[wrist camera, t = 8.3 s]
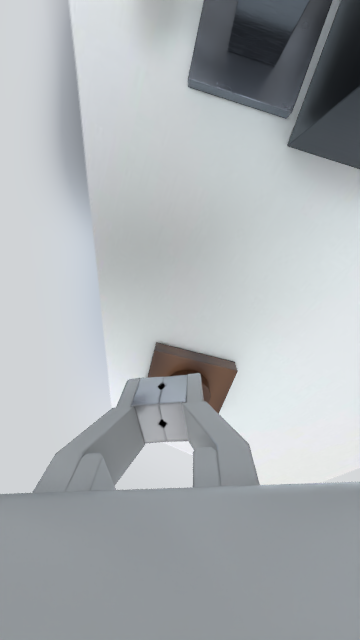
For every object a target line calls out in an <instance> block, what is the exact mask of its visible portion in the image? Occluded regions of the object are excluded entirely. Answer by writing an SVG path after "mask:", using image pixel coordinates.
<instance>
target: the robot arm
mask: <svg viewBox="0 0 360 640" xmlns="http://www.w3.org/2000/svg"><path fill="white" fill-rule="evenodd" d="M169 441H189V443H190V444H191V446H192V448H193V449H194V452H193V488H167V489H165V488H164V489H135V490H116V489H115V484H116V483H117V482H118V480H119V479H120V478H121V476H122V475H123V474H124V472H125V471H126V469H127V468H128V467H129V465H130V464H131V462H133V460H134V459H135V458H136V456H137V455H138V453H139V452H140V451H141V449H142V448H143V447H144V445H145V443H154V442H155V443H156V442H169ZM0 640H360V482H340V483H339V482H338V483H308V484H279V485H260V484H259V481H258V477H257V473H256V469H255V465H254V462H253V458H252V454H251V450H250V446H249V444H248V443H247V442H246V441H245V440H244V439H243V438H242V437H241V436H240V435H239V434H238V433H237V432H236V431H235V430H234V429H233V428H232V427H231V426H230V425H229V424H228V423H227V422H226V421H225V420H224V419H223V418H222V417H221V416H220V415H219V414H218V413H217V412H216V411H215V410H214V409H213V408H212V407H211V406H210V405H209V404H208V403H207V402H206V401H204V398H203V390H202V381H201V374H200V373H195V374H188V375H179V376H168V377H150V378H136V379H129V380H128V381H127V383H126V385H125V388H124V390H123V392H122V395H121V397H120V399H119V402H118V404H117V407H116V408H112V409H111V410H109V411H108V412H107V413H106V414H105V415H103V416H102V417H101V418H99V419H98V420H97V421H96V422H94V423H93V424H92V425H91V426H90V427H88V428H87V429H86V430H85V431H83V432H82V433H81V434H80V435H79V436H77V437H76V438H75V439H73V440H72V441H71V442H70V443H68V444H67V445H66V446H65V447H63V448H62V449H61V450H60V451H58V452H57V453H56V454H55V456H54V458H53V459H52V461H51V462H50V464H49V466H48V467H47V469H46V471H45V472H44V474H43V476H42V478H41V479H40V481H39V482H38V484H37V486H36V488H35V489H34V491H33V493H17V494H0Z"/></svg>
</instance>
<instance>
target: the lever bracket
mask: <svg viewBox="0 0 360 640" xmlns="http://www.w3.org/2000/svg"><path fill="white" fill-rule="evenodd" d="M331 2H332V0H204V3H203V8H202V13H201V18H200V23H199V28H198V33H197V38H196V43H195V48H194V52H193V57H192V62H191V67H190V72H189V77H188V87H191V88H194V89H197V90H200V91H203V92H206V93H209V94H212V95H215V96H218V97H222V98H225V99H228V100H231V101H234V102H237V103H240V104H243V105H246V106H249V107H252V108H255V109H258V110H262V111H265V112H268V113H271V114H274V115H277V116H280V117H283V118H287V117H288V116H289V115H290V114H291V113H292V111H293V108H294V105H295V102H296V100H297V97H298V94H299V91H300V88H301V86H302V83H303V80H304V77H305V75H306V72H307V69H308V66H309V63H310V61H311V58H312V55H313V52H314V50H315V47H316V44H317V41H318V38H319V36H320V33H321V30H322V27H323V25H324V22H325V19H326V16H327V14H328V11H329V8H330V5H331Z"/></svg>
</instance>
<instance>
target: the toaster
mask: <svg viewBox="0 0 360 640" xmlns="http://www.w3.org/2000/svg"><path fill="white" fill-rule="evenodd" d="M288 146H289V147H292V148H296V149H299V150H302V151H305V152H308V153H311V154H315V155H318V156H321V157H324V158H327V159H330V160H333V161H337V162H340V163H343V164H346V165H349V166H352V167H356V168H359V169H360V0H341V2H340V5H339V8H338V11H337V13H336V16H335V19H334V21H333V24H332V27H331V29H330V32H329V35H328V38H327V40H326V43H325V46H324V48H323V51H322V54H321V56H320V59H319V62H318V64H317V67H316V70H315V73H314V75H313V78H312V81H311V83H310V86H309V89H308V91H307V94H306V97H305V99H304V102H303V105H302V108H301V110H300V113H299V116H298V118H297V121H296V124H295V126H294V129H293V132H292V134H291V137H290V140H289V143H288Z"/></svg>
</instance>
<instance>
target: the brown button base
mask: <svg viewBox="0 0 360 640" xmlns="http://www.w3.org/2000/svg"><path fill="white" fill-rule="evenodd" d="M195 373H200V374H201V381H202V390H203V398H204V401H206V402H207V403H208V404H209V405H210V406H211V407H212V408H213V409H214V410H215V411H216V412H217V413H218V414H219V411H220V409H221V407H222V405H223V402H224V400H225V398H226V396H227V394H228V391H229V389H230V387H231V385H232V382H233V380H234V378H235V376H236V373H237V368H236V365H235V362H232V361H228V360H224V359H220V358H216V357H212V356H208V355H204V354H200V353H196V352H192V351H188V350H184V349H180V348H176V347H172V346H168V345H164V344H160V343H156V346H155V350H154V354H153V358H152V362H151V366H150V370H149V374H148V378H150V377H168V376H179V375H188V374H195Z"/></svg>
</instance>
